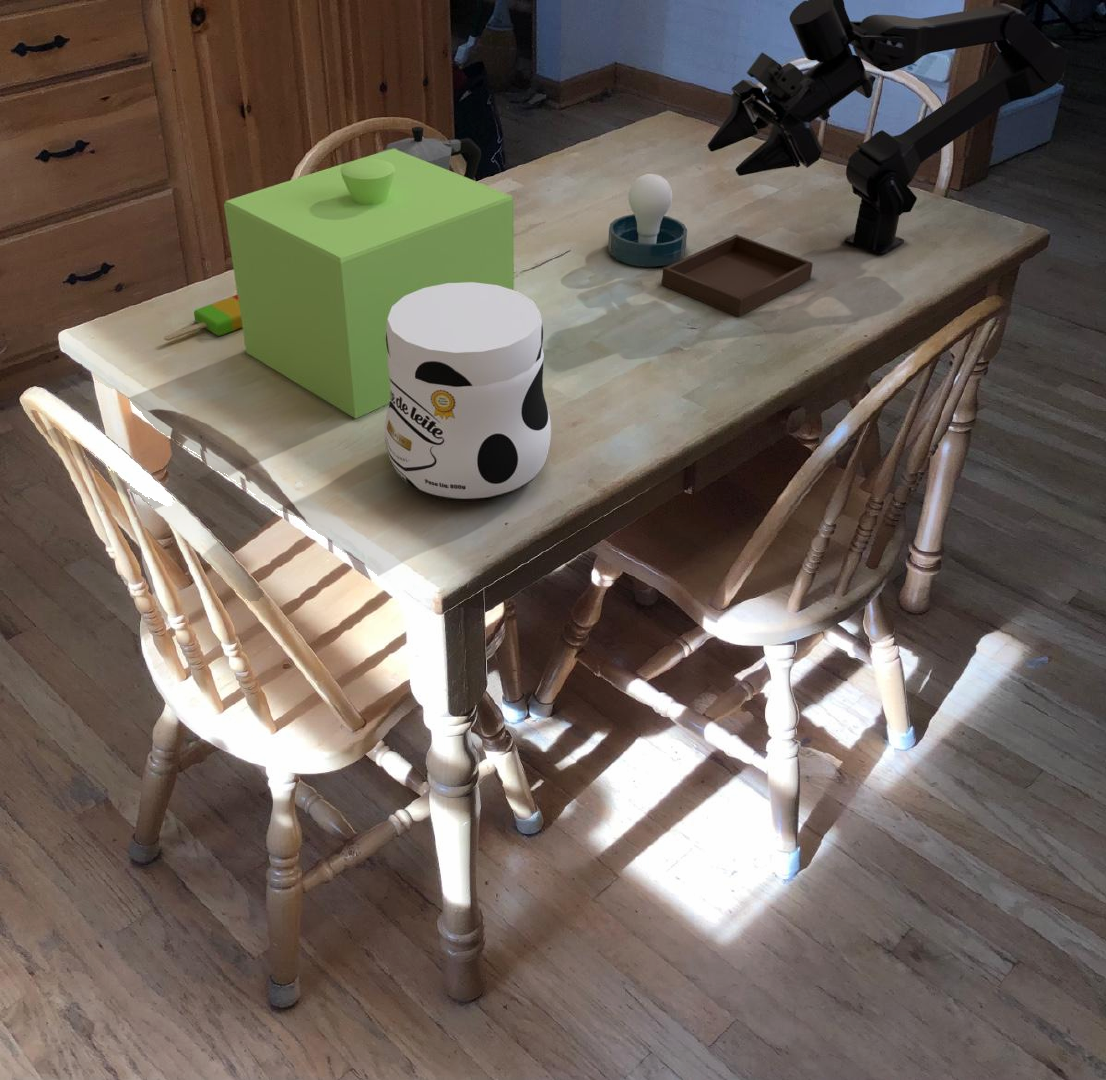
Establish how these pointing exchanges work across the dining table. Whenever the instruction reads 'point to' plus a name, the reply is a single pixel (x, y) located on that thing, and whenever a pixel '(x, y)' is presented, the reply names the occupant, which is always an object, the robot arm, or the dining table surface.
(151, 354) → the dining table surface
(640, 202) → the lightbulb
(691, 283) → the tray
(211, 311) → the popsicle
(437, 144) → the coffeepot
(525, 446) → the milk container
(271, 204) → the canister
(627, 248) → the bowl
